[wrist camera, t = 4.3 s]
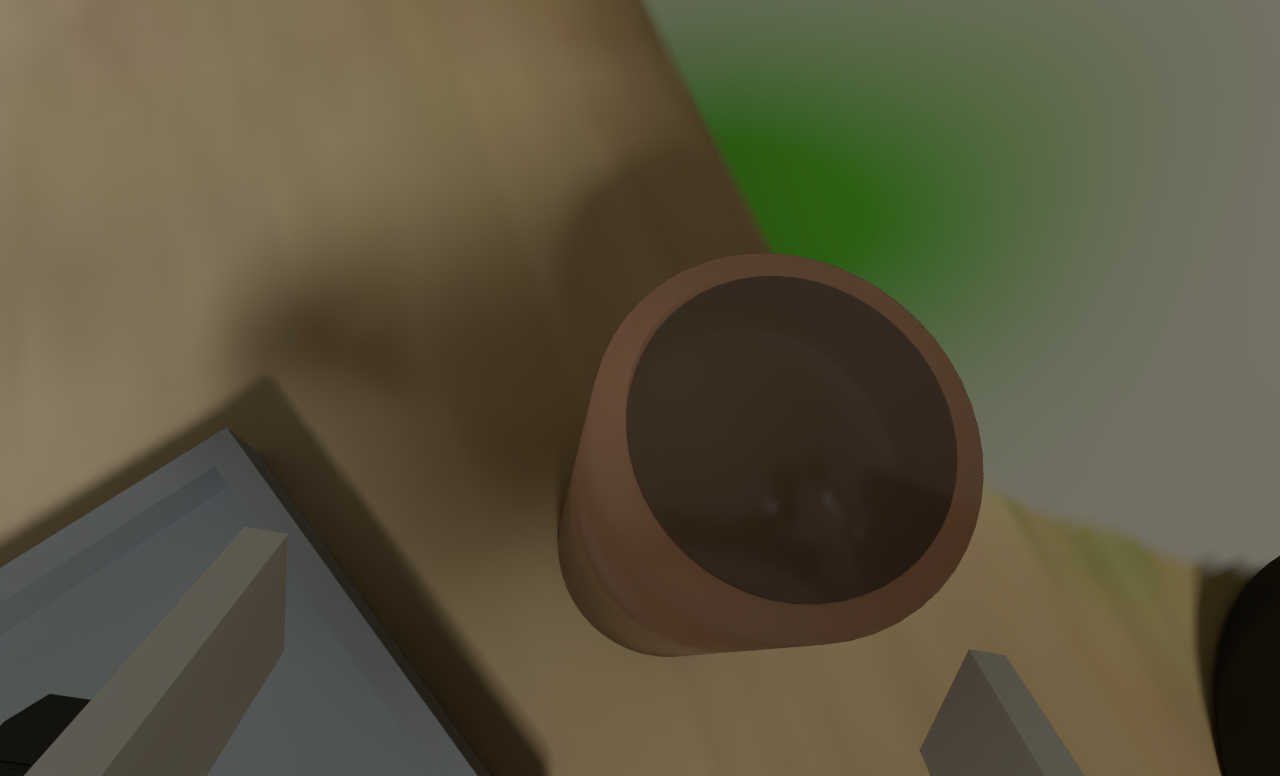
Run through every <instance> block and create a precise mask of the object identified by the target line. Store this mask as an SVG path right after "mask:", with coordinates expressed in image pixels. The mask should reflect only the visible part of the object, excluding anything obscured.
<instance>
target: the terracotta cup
mask: <svg viewBox="0 0 1280 776" xmlns="http://www.w3.org/2000/svg"><path fill="white" fill-rule="evenodd" d="M982 488H983V454H982V447H981V441H980V435H979V429H978V425H977V422H976V418H975V415H974V411H973V408H972V405H971V402H970V400H969V397H968V395H967V393H966V390H965V388H964V386H963V383H962V381H961V379H960V377H959V376H958V374H957V372H956V370H955V368H954V367H953V365H952V363H951V361H950V359H949V358H948V357H947V355H946V354H945V352H944V351H943V350H942V348H941V347H940V345H939V344H938V343H937V341H936V340H935V339H934V337H933V336H932V335H931V334H930V333H929V332H928V331H927V330H926V329H925V327H924V326H923V325H922V324H921V323H920V322H919V321H918V320H917V319H916V318H915V317H914V316H913V315H912V314H911V313H910V312H909V311H908V310H906V309H905V308H904V307H903V306H902V305H901V304H900V303H898V302H897V301H896V300H894V299H893V298H892V297H890V296H889V295H888V294H886V293H885V292H883V291H882V290H881V289H879V288H877V287H876V286H874V285H872V284H871V283H869V282H867V281H865V280H864V279H862V278H860V277H858V276H856V275H854V274H852V273H849V272H847V271H844V270H843V269H841V268H838V267H835V266H832V265H829V264H826V263H823V262H820V261H817V260H813V259H808V258H803V257H799V256H794V255H785V254H774V253H752V254H740V255H734V256H727V257H722V258H718V259H715V260H711V261H708V262H704V263H701V264H698V265H696V266H694V267H692V268H689V269H687V270H685V271H682V272H680V273H678V274H677V275H675V276H673V277H672V278H670V279H668V280H667V281H665V282H663V283H662V284H660V285H659V286H658V287H657V288H655V289H654V290H653V291H652V292H650V293H649V294H648V295H647V296H646V297H644V298H643V299H642V300H641V301H640V302H639V303H638V304H637V306H636V307H635V308H634V309H633V310H632V311H631V312H630V313H629V314H628V315H627V317H626V318H625V319H624V321H623V322H622V324H621V325H620V327H619V328H618V330H617V331H616V332H615V334H614V336H613V338H612V340H611V342H610V344H609V346H608V348H607V350H606V352H605V354H604V356H603V358H602V361H601V364H600V367H599V370H598V373H597V377H596V380H595V383H594V387H593V391H592V395H591V399H590V403H589V407H588V411H587V415H586V419H585V423H584V427H583V431H582V435H581V439H580V443H579V447H578V451H577V455H576V459H575V463H574V467H573V471H572V475H571V479H570V483H569V487H568V491H567V495H566V499H565V503H564V507H563V510H562V514H561V519H560V525H559V530H558V556H559V563H560V568H561V573H562V576H563V579H564V582H565V585H566V587H567V590H568V592H569V594H570V596H571V598H572V600H573V602H574V603H575V605H576V606H577V608H578V609H579V610H580V612H581V613H582V615H583V616H584V617H585V618H586V619H587V620H588V621H589V622H590V624H591V625H592V626H593V627H594V628H596V629H597V630H598V631H599V632H600V633H602V634H603V635H604V636H605V637H607V638H609V639H610V640H612V641H613V642H615V643H616V644H619V645H621V646H623V647H625V648H627V649H629V650H632V651H635V652H639V653H642V654H646V655H653V656H659V657H677V656H689V655H701V654H714V653H726V652H738V651H750V650H763V649H775V648H787V647H800V646H812V645H823V644H831V643H838V642H846V641H851V640H855V639H858V638H862V637H865V636H868V635H872V634H875V633H877V632H879V631H882V630H884V629H886V628H888V627H890V626H892V625H895V624H897V623H899V622H900V621H902V620H903V619H905V618H906V617H908V616H909V615H911V614H912V613H914V612H915V611H917V610H918V609H920V608H921V607H922V606H923V605H924V604H925V603H926V602H927V601H928V600H930V599H931V598H932V597H933V596H934V595H935V594H936V593H937V592H938V591H939V590H940V589H941V588H942V586H943V585H944V584H945V582H946V581H947V580H948V579H949V577H950V576H951V575H952V574H953V572H954V571H955V569H956V567H957V566H958V564H959V562H960V560H961V559H962V557H963V555H964V553H965V552H966V550H967V547H968V545H969V542H970V540H971V537H972V535H973V532H974V529H975V527H976V523H977V518H978V514H979V510H980V505H981V499H982Z"/></svg>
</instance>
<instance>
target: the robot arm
mask: <svg viewBox="0 0 1280 776" xmlns="http://www.w3.org/2000/svg"><path fill="white" fill-rule="evenodd" d="M287 553H288V534H286V533H280V532H274V531H268V530H262V529H257V528H251V527H244V528H243V529H242V530H241V531H240V532H239V534H238V535H237V536H236V537H235V538H234V539H233V540H232V542H231V543H230V544H229V545H228V546H227V547H226V548H225V549H224V551H223V552H222V553H221V554H220V555H219V556H218V557H217V558H216V560H215V561H214V562H213V563H212V564H211V565H210V566H209V567H208V569H207V570H206V571H205V572H204V573H203V574H202V575H201V577H200V578H199V579H198V580H197V581H196V582H195V583H194V584H193V586H192V587H191V588H190V589H189V590H188V591H187V592H186V593H185V595H184V596H183V597H182V598H181V599H180V600H179V601H178V602H177V604H176V605H175V606H174V607H173V608H172V609H171V610H170V611H169V613H168V614H167V615H166V616H165V617H164V618H163V619H162V621H161V622H160V623H159V624H158V625H157V626H156V627H155V628H154V630H153V631H152V632H151V633H150V634H149V635H148V636H147V637H146V639H145V640H144V641H143V642H142V643H141V644H140V645H139V646H138V648H137V649H136V650H135V651H134V652H133V653H132V654H131V656H130V657H129V658H128V659H127V660H126V661H125V662H124V663H123V665H122V666H121V667H120V668H119V669H118V670H117V671H116V672H115V674H114V675H113V676H112V677H111V678H110V679H109V680H108V681H107V683H106V684H105V685H104V686H103V687H102V688H101V689H100V691H99V692H98V693H97V694H96V695H95V696H94V697H93V698H92V700H90V699H83V698H76V697H69V696H62V695H56V694H48V695H47V696H45V697H43V698H42V699H40V700H38V701H37V702H35V703H33V704H32V705H30V706H28V707H27V708H25V709H24V710H22V711H20V712H19V713H17V714H15V715H14V716H12V717H10V718H9V719H7V720H6V721H4V722H3V723H2V724H1V725H0V776H207V775H208V773H209V771H210V770H211V768H212V766H213V765H214V763H215V762H216V760H217V758H218V757H219V755H220V754H221V752H222V750H223V749H224V747H225V746H226V744H227V742H228V741H229V739H230V737H231V736H232V734H233V733H234V731H235V729H236V728H237V726H238V725H239V723H240V721H241V720H242V718H243V716H244V715H245V713H246V712H247V710H248V708H249V707H250V705H251V704H252V702H253V700H254V699H255V697H256V696H257V694H258V692H259V691H260V689H261V687H262V686H263V684H264V683H265V681H266V679H267V678H268V676H269V675H270V673H271V671H272V670H273V668H274V666H275V665H276V663H277V662H278V660H279V658H280V657H281V655H282V654H283V652H284V633H285V606H286V579H287ZM1216 712H1217V724H1218V731H1219V738H1220V744H1221V750H1222V755H1223V760H1224V764H1225V768H1226V772H1227V776H1280V556H1279V557H1277V558H1276V559H1274V560H1273V561H1271V562H1270V563H1269V564H1267V565H1266V566H1265V567H1264V568H1263V569H1261V570H1260V571H1259V572H1258V573H1257V574H1256V575H1255V576H1254V577H1253V579H1252V580H1251V581H1250V582H1249V584H1248V585H1247V586H1246V587H1245V589H1244V590H1243V592H1242V593H1241V595H1240V597H1239V598H1238V600H1237V602H1236V604H1235V606H1234V608H1233V610H1232V612H1231V614H1230V617H1229V619H1228V622H1227V624H1226V627H1225V631H1224V634H1223V637H1222V641H1221V646H1220V651H1219V657H1218V664H1217V674H1216ZM920 752H921V754H922V757H923V759H924V761H925V764H926V766H927V768H928V771H929V773H930V775H931V776H1084V774H1083V773H1082V771H1081V770H1080V768H1079V767H1078V765H1077V764H1076V762H1075V761H1074V759H1073V758H1072V756H1071V755H1070V753H1069V752H1068V750H1067V748H1066V747H1065V745H1064V744H1063V742H1062V741H1061V739H1060V738H1059V736H1058V735H1057V733H1056V732H1055V730H1054V729H1053V727H1052V726H1051V724H1050V723H1049V721H1048V720H1047V718H1046V717H1045V715H1044V713H1043V712H1042V710H1041V709H1040V707H1039V706H1038V704H1037V703H1036V701H1035V700H1034V698H1033V697H1032V695H1031V694H1030V692H1029V691H1028V689H1027V688H1026V686H1025V685H1024V683H1023V682H1022V680H1021V678H1020V677H1019V675H1018V674H1017V672H1016V671H1015V669H1014V668H1013V666H1012V665H1011V663H1010V662H1009V660H1008V659H1007V657H1006V656H1005V655H1000V654H994V653H988V652H982V651H976V650H970V649H969V650H968V652H967V654H966V656H965V658H964V661H963V663H962V665H961V667H960V669H959V671H958V673H957V675H956V677H955V679H954V681H953V683H952V685H951V687H950V689H949V691H948V693H947V695H946V698H945V700H944V702H943V704H942V706H941V708H940V710H939V712H938V714H937V716H936V718H935V720H934V722H933V724H932V726H931V728H930V730H929V732H928V734H927V737H926V739H925V741H924V743H923V745H922V747H921V749H920Z"/></svg>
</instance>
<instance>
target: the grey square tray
mask: <svg viewBox="0 0 1280 776" xmlns="http://www.w3.org/2000/svg"><path fill="white" fill-rule="evenodd" d="M244 527H251V528H257V529H262V530H268V531H274V532H280V533H286V534H288V553H287V579H286V606H285V633H284V652H283V654H282V655H281V657H280V658H279V660H278V662H277V663H276V665H275V666H274V668H273V670H272V671H271V673H270V675H269V676H268V678H267V679H266V681H265V683H264V684H263V686H262V687H261V689H260V691H259V692H258V694H257V696H256V697H255V699H254V700H253V702H252V704H251V705H250V707H249V708H248V710H247V712H246V713H245V715H244V716H243V718H242V720H241V721H240V723H239V725H238V726H237V728H236V729H235V731H234V733H233V734H232V736H231V737H230V739H229V741H228V742H227V744H226V746H225V747H224V749H223V750H222V752H221V754H220V755H219V757H218V758H217V760H216V762H215V763H214V765H213V766H212V768H211V770H210V771H209V773H208V775H207V776H491V775H490V774H489V772H488V771H487V769H486V768H485V767H484V765H483V764H482V763H481V761H480V760H479V758H478V757H477V756H476V754H475V753H474V751H473V750H472V749H471V747H470V746H469V745H468V743H467V742H466V740H465V739H464V738H463V736H462V735H461V734H460V732H459V731H458V729H457V728H456V727H455V725H454V724H453V722H452V721H451V720H450V718H449V717H448V716H447V714H446V713H445V711H444V710H443V709H442V707H441V706H440V704H439V703H438V702H437V700H436V699H435V698H434V696H433V695H432V693H431V692H430V691H429V689H428V688H427V687H426V685H425V684H424V682H423V681H422V680H421V678H420V677H419V675H418V674H417V673H416V671H415V670H414V669H413V667H412V666H411V664H410V663H409V662H408V660H407V659H406V657H405V656H404V655H403V653H402V652H401V651H400V649H399V648H398V646H397V645H396V644H395V642H394V641H393V640H392V638H391V637H390V635H389V634H388V633H387V631H386V630H385V628H384V627H383V626H382V624H381V623H380V622H379V620H378V619H377V617H376V616H375V615H374V613H373V612H372V610H371V609H370V608H369V606H368V605H367V604H366V602H365V601H364V599H363V598H362V597H361V595H360V594H359V593H358V591H357V590H356V588H355V587H354V586H353V584H352V583H351V581H350V580H349V579H348V577H347V576H346V575H345V573H344V572H343V570H342V569H341V568H340V566H339V565H338V563H337V562H336V561H335V559H334V558H333V557H332V555H331V554H330V552H329V551H328V550H327V548H326V547H325V546H324V544H323V543H322V541H321V540H320V539H319V537H318V536H317V534H316V533H315V532H314V530H313V529H312V528H311V526H310V525H309V523H308V522H307V521H306V519H305V518H304V516H303V515H302V514H301V512H300V511H299V510H298V508H297V507H296V505H295V504H294V503H293V501H292V500H291V499H290V497H289V496H288V494H287V493H286V492H285V490H284V489H283V487H282V486H281V485H280V483H279V482H278V481H277V479H276V478H275V476H274V475H273V474H272V472H271V471H270V469H269V468H268V467H267V465H266V464H265V463H264V461H263V460H262V458H261V457H260V456H259V454H258V453H257V452H256V451H255V450H254V449H253V448H251V447H250V446H249V445H248V444H247V443H245V442H244V441H243V440H242V439H240V438H239V437H238V436H237V435H236V434H234V433H233V432H232V431H231V430H229V429H228V428H227V427H226V428H224V429H223V430H221V431H219V432H218V433H216V434H215V435H213V436H211V437H210V438H208V439H207V440H205V441H203V442H202V443H200V444H198V445H197V446H195V447H194V448H192V449H190V450H189V451H187V452H186V453H184V454H182V455H181V456H179V457H178V458H176V459H174V460H173V461H171V462H170V463H168V464H166V465H165V466H163V467H161V468H160V469H158V470H157V471H155V472H153V473H152V474H150V475H149V476H147V477H145V478H144V479H142V480H141V481H139V482H137V483H136V484H134V485H133V486H131V487H129V488H128V489H126V490H125V491H123V492H121V493H120V494H118V495H116V496H115V497H113V498H112V499H110V500H108V501H107V502H105V503H104V504H102V505H100V506H99V507H97V508H96V509H94V510H92V511H91V512H89V513H88V514H86V515H84V516H83V517H81V518H79V519H78V520H76V521H75V522H73V523H71V524H70V525H68V526H67V527H65V528H63V529H62V530H60V531H59V532H57V533H55V534H54V535H52V536H51V537H49V538H47V539H46V540H44V541H42V542H41V543H39V544H38V545H36V546H34V547H33V548H31V549H30V550H28V551H26V552H25V553H23V554H22V555H20V556H18V557H17V558H15V559H14V560H12V561H10V562H9V563H7V564H5V565H4V566H2V567H1V568H0V725H1V724H2V723H3V722H4V721H6V720H7V719H9V718H10V717H12V716H14V715H15V714H17V713H19V712H20V711H22V710H24V709H25V708H27V707H28V706H30V705H32V704H33V703H35V702H37V701H38V700H40V699H42V698H43V697H45V696H47V695H48V694H56V695H62V696H69V697H76V698H83V699H90V700H92V698H93V697H94V696H95V695H96V694H97V693H98V692H99V691H100V689H101V688H102V687H103V686H104V685H105V684H106V683H107V681H108V680H109V679H110V678H111V677H112V676H113V675H114V674H115V672H116V671H117V670H118V669H119V668H120V667H121V666H122V665H123V663H124V662H125V661H126V660H127V659H128V658H129V657H130V656H131V654H132V653H133V652H134V651H135V650H136V649H137V648H138V646H139V645H140V644H141V643H142V642H143V641H144V640H145V639H146V637H147V636H148V635H149V634H150V633H151V632H152V631H153V630H154V628H155V627H156V626H157V625H158V624H159V623H160V622H161V621H162V619H163V618H164V617H165V616H166V615H167V614H168V613H169V611H170V610H171V609H172V608H173V607H174V606H175V605H176V604H177V602H178V601H179V600H180V599H181V598H182V597H183V596H184V595H185V593H186V592H187V591H188V590H189V589H190V588H191V587H192V586H193V584H194V583H195V582H196V581H197V580H198V579H199V578H200V577H201V575H202V574H203V573H204V572H205V571H206V570H207V569H208V567H209V566H210V565H211V564H212V563H213V562H214V561H215V560H216V558H217V557H218V556H219V555H220V554H221V553H222V552H223V551H224V549H225V548H226V547H227V546H228V545H229V544H230V543H231V542H232V540H233V539H234V538H235V537H236V536H237V535H238V534H239V532H240V531H241V530H242V529H243V528H244Z"/></svg>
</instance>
